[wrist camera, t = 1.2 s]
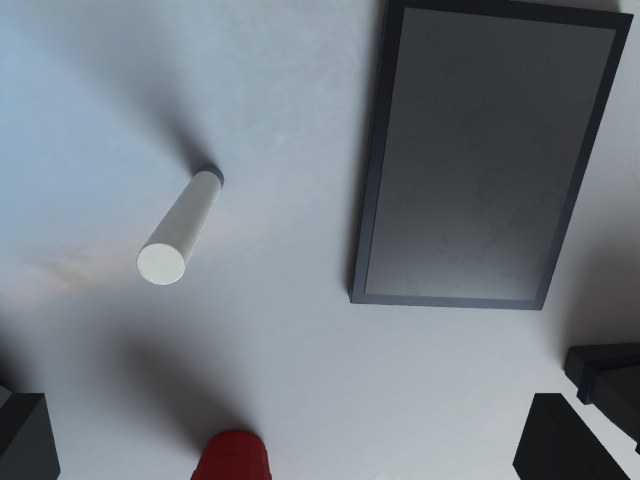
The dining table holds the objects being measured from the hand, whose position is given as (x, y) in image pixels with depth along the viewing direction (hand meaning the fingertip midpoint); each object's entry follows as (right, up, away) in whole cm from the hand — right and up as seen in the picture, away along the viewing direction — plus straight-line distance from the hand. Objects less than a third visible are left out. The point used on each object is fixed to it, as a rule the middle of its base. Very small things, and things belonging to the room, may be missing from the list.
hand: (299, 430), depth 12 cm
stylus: (-7, +10, +20) cm, 23 cm away
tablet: (+12, +10, +21) cm, 26 cm away
